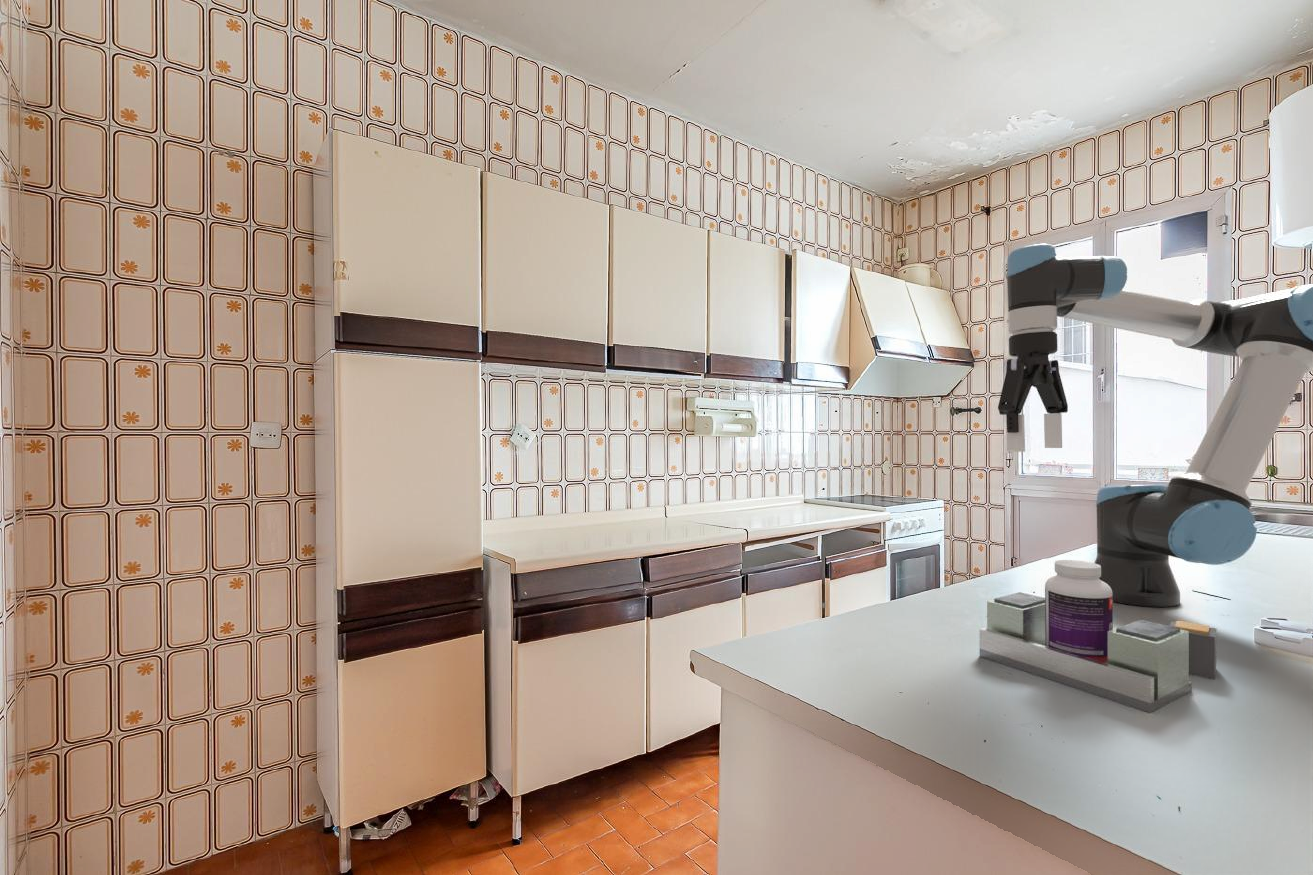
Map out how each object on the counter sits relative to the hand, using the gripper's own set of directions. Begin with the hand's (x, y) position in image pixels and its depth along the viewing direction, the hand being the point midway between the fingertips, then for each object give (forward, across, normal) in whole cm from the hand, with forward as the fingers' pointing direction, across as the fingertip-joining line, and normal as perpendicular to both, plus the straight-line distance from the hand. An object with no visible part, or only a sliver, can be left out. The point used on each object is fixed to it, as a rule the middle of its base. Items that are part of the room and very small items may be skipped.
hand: (1035, 449), depth 111 cm
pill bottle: (+30, +21, +15) cm, 39 cm away
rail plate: (+31, +21, +15) cm, 40 cm away
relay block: (+31, +7, +24) cm, 40 cm away
